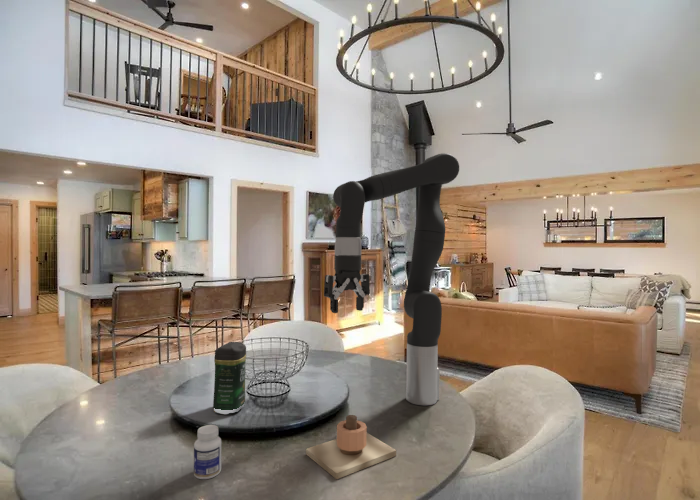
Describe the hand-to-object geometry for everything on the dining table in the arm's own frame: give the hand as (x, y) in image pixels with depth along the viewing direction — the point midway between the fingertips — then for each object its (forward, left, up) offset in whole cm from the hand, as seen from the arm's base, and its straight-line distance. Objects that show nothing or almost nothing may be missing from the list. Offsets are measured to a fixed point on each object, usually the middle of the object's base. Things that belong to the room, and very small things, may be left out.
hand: (347, 311), depth 113 cm
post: (+13, +20, -27) cm, 36 cm away
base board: (+13, +20, -28) cm, 37 cm away
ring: (+13, +20, -26) cm, 35 cm away
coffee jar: (+26, -20, -28) cm, 43 cm away
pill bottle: (+41, +9, -28) cm, 51 cm away
